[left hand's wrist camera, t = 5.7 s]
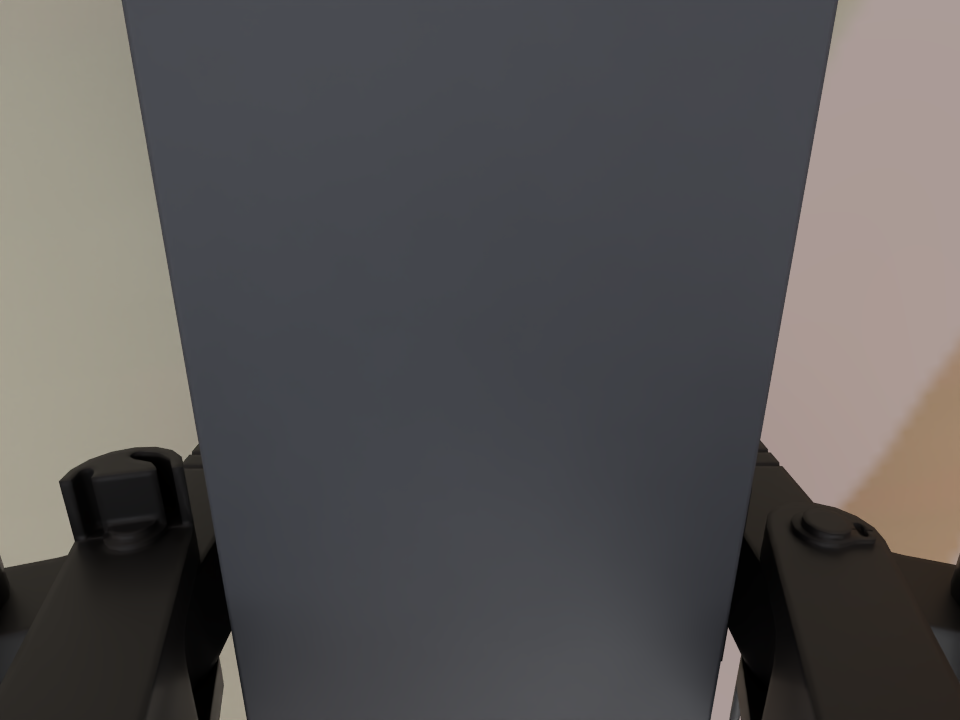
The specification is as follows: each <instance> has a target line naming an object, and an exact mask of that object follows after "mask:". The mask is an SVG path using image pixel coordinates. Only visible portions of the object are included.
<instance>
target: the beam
mask: <svg viewBox="0 0 960 720" xmlns="http://www.w3.org/2000/svg"><path fill="white" fill-rule="evenodd" d="M837 4H838V0H122V5H123V11H124V16H125V22H126V28H127V34H128V39H129V45H130V51H131V57H132V62H133V68H134V74H135V80H136V85H137V91H138V97H139V103H140V108H141V114H142V120H143V125H144V131H145V137H146V143H147V148H148V154H149V160H150V166H151V171H152V177H153V183H154V189H155V194H156V200H157V206H158V212H159V217H160V223H161V229H162V235H163V240H164V246H165V252H166V258H167V263H168V269H169V275H170V280H171V286H172V292H173V298H174V303H175V309H176V315H177V321H178V326H179V332H180V338H181V344H182V349H183V355H184V361H185V367H186V372H187V378H188V384H189V390H190V395H191V401H192V407H193V413H194V418H195V424H196V430H197V435H198V441H199V447H200V453H201V458H202V464H203V470H204V476H205V481H206V487H207V493H208V499H209V504H210V510H211V516H212V522H213V527H214V533H215V539H216V545H217V550H218V556H219V562H220V568H221V573H222V579H223V585H224V590H225V596H226V602H227V608H228V613H229V619H230V625H231V631H232V636H233V642H234V648H235V654H236V659H237V665H238V671H239V677H240V682H241V688H242V694H243V700H244V705H245V711H246V717H247V720H710V719H711V713H712V707H713V702H714V696H715V691H716V685H717V679H718V674H719V668H720V662H721V657H722V651H723V646H724V640H725V634H726V629H727V623H728V617H729V612H730V606H731V601H732V595H733V589H734V584H735V578H736V572H737V567H738V561H739V556H740V550H741V544H742V539H743V533H744V527H745V522H746V516H747V511H748V505H749V499H750V494H751V488H752V482H753V477H754V471H755V466H756V460H757V454H758V449H759V443H760V437H761V432H762V426H763V420H764V415H765V409H766V404H767V398H768V392H769V387H770V381H771V375H772V370H773V364H774V358H775V353H776V347H777V342H778V336H779V330H780V325H781V319H782V314H783V308H784V302H785V297H786V291H787V285H788V280H789V274H790V268H791V263H792V257H793V252H794V246H795V240H796V235H797V229H798V223H799V218H800V212H801V207H802V201H803V195H804V190H805V184H806V178H807V173H808V167H809V162H810V156H811V150H812V145H813V139H814V133H815V128H816V122H817V117H818V111H819V105H820V100H821V94H822V88H823V83H824V77H825V71H826V66H827V60H828V55H829V49H830V43H831V38H832V32H833V26H834V21H835V15H836V10H837Z"/></svg>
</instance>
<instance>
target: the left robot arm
mask: <svg viewBox="0 0 960 720" xmlns="http://www.w3.org/2000/svg"><path fill="white" fill-rule="evenodd" d="M59 484H60V487H61V491H62V495H63V499H64V502H65V506H66V510H67V513H68V517H69V521H70V525H71V528H72V532H73V536H74V540H75V542H74V544H73V546H72V548H71V550H70V552H69V554H68V555H67V556H63V557H59V558H54V559H49V560H44V561H39V562H34V563H28V564H23V565H18V566H13V567H7V568H4V566H3V563H2V560H1V557H0V720H219V718H220V710H221V703H222V695H223V687H224V683H223V676H222V670H221V664H220V659H219V655H220V653H221V651H222V649H223V647H224V645H225V643H226V641H227V639H228V636H229V634H230V632H231V625H230V619H229V613H228V608H227V602H226V596H225V590H224V585H223V579H222V573H221V568H220V562H219V556H218V550H217V545H216V539H215V533H214V527H213V522H212V516H211V510H210V504H209V499H208V493H207V487H206V481H205V476H204V470H203V464H202V458H201V453H200V447H199V444H198V445H197V447H196V448H195V449H194V450H193V451H192V455H189V456H188V457H187V458H186V459H185V461H184V462H183V461H182V457H181V456H180V455H178V454H177V453H176V452H174V451H173V450H169V449H164V448H159V447H135V448H130V449H124V450H119V451H114V452H110V453H107V454H104V455H101V456H99V457H96V458H93V459H90V460H88V461H86V462H84V463H82V464H81V465H79V466H77V467H75V468H73V469H72V470H70V471H69V472H68V473H67V474H66V475H65V476H64V477H63V478H62V479H61V480H60V481H59ZM728 628H729V630H730V632H731V634H732V636H733V638H734V640H735V642H736V644H737V646H738V649H739V651H740V653H741V659H740V664H739V670H738V675H737V681H736V686H735V691H734V696H733V702H732V707H731V713H730V719H729V720H739V718H740V716H741V720H960V555H959V558H958V561H957V564H956V565H953V564H947V563H942V562H937V561H932V560H926V559H921V558H916V557H911V556H905V555H901V554H897V553H893V552H891V551H890V549H889V547H888V545H887V543H886V541H885V540H884V539H883V537H882V536H881V535H880V534H879V533H878V532H877V530H876V529H875V528H874V527H872V526H871V525H869V524H868V523H866V522H865V521H863V520H862V519H860V518H859V517H857V516H855V515H852V514H850V513H847V512H845V511H843V510H840V509H838V508H835V507H831V506H826V505H821V504H817V503H813V502H812V500H811V499H810V498H809V497H808V496H807V494H806V493H805V492H804V491H803V490H802V489H801V488H800V486H799V485H798V484H797V483H796V482H795V480H794V479H793V478H792V477H791V476H790V475H789V473H788V472H787V471H786V470H785V469H784V468H783V467H782V466H779V462H778V461H777V459H776V458H775V457H774V456H773V455H772V454H771V453H768V449H767V448H766V447H765V445H764V444H763V443H762V442H761V441H760V443H759V449H758V454H757V460H756V466H755V471H754V477H753V482H752V488H751V494H750V499H749V505H748V511H747V516H746V522H745V527H744V533H743V539H742V544H741V550H740V556H739V561H738V567H737V572H736V578H735V584H734V589H733V595H732V601H731V606H730V612H729V617H728V623H727V629H726V634H725V640H724V646H723V651H722V657H721V661H722V659H723V653H724V647H725V641H726V636H727V630H728Z"/></svg>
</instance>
